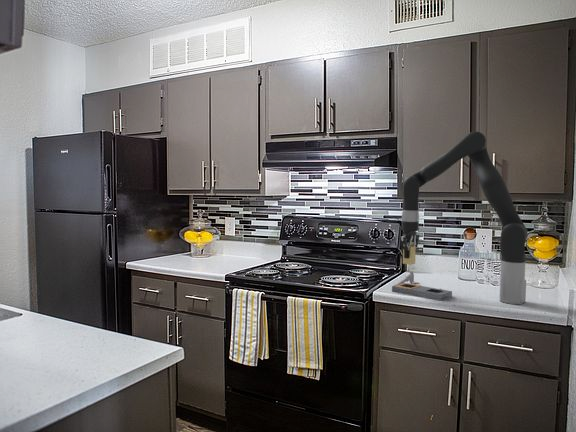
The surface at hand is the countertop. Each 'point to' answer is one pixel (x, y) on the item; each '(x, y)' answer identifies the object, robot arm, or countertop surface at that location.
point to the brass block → (410, 256)
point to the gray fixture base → (422, 291)
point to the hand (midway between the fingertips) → (409, 257)
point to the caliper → (407, 278)
